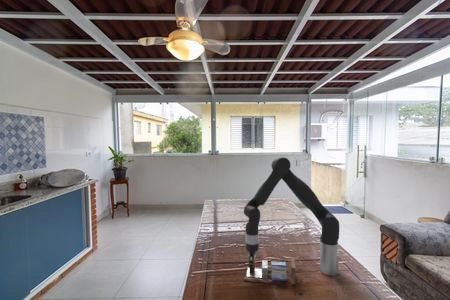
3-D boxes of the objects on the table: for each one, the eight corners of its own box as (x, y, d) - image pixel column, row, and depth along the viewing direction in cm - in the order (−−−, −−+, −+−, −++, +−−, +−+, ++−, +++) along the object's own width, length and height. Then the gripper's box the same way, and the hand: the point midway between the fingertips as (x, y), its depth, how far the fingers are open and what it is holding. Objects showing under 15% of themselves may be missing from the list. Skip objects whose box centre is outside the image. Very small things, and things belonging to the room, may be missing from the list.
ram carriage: (267, 271, 139) (267, 255, 138) (267, 280, 130) (267, 263, 130) (247, 269, 141) (247, 254, 140) (246, 278, 133) (246, 261, 132)
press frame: (293, 272, 138) (293, 257, 137) (295, 285, 126) (295, 268, 126) (246, 268, 143) (246, 253, 142) (244, 280, 131) (243, 264, 131)
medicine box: (271, 280, 131) (271, 265, 130) (271, 275, 135) (270, 260, 135) (286, 281, 130) (286, 265, 130) (285, 276, 135) (285, 261, 134)
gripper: (258, 247, 127) (258, 277, 128) (259, 236, 141) (259, 263, 142) (244, 246, 129) (244, 275, 130) (246, 235, 143) (246, 262, 144)
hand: (252, 269), depth 136 cm, fingers open, 8 cm apart
